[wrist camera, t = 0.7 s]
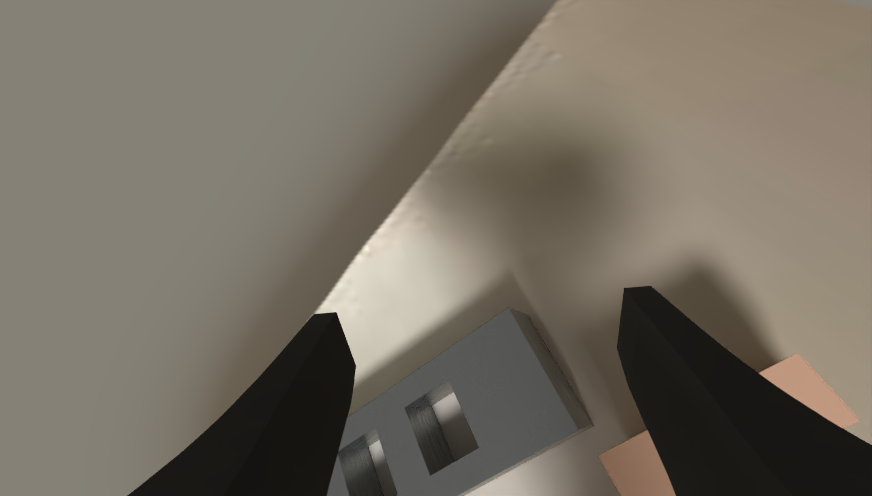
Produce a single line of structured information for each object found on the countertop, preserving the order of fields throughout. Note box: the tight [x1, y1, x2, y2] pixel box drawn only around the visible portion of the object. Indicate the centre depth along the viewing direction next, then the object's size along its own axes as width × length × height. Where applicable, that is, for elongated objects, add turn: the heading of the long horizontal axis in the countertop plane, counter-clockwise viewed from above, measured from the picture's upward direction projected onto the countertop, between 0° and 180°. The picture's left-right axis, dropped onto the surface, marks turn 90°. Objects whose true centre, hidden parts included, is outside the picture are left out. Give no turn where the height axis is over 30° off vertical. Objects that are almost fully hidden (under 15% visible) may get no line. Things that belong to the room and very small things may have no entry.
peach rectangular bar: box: [598, 353, 860, 496], centre depth 18 cm, size 2×8×6 cm, turn 119°
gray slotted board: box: [327, 308, 593, 496], centre depth 27 cm, size 7×20×3 cm, turn 118°
